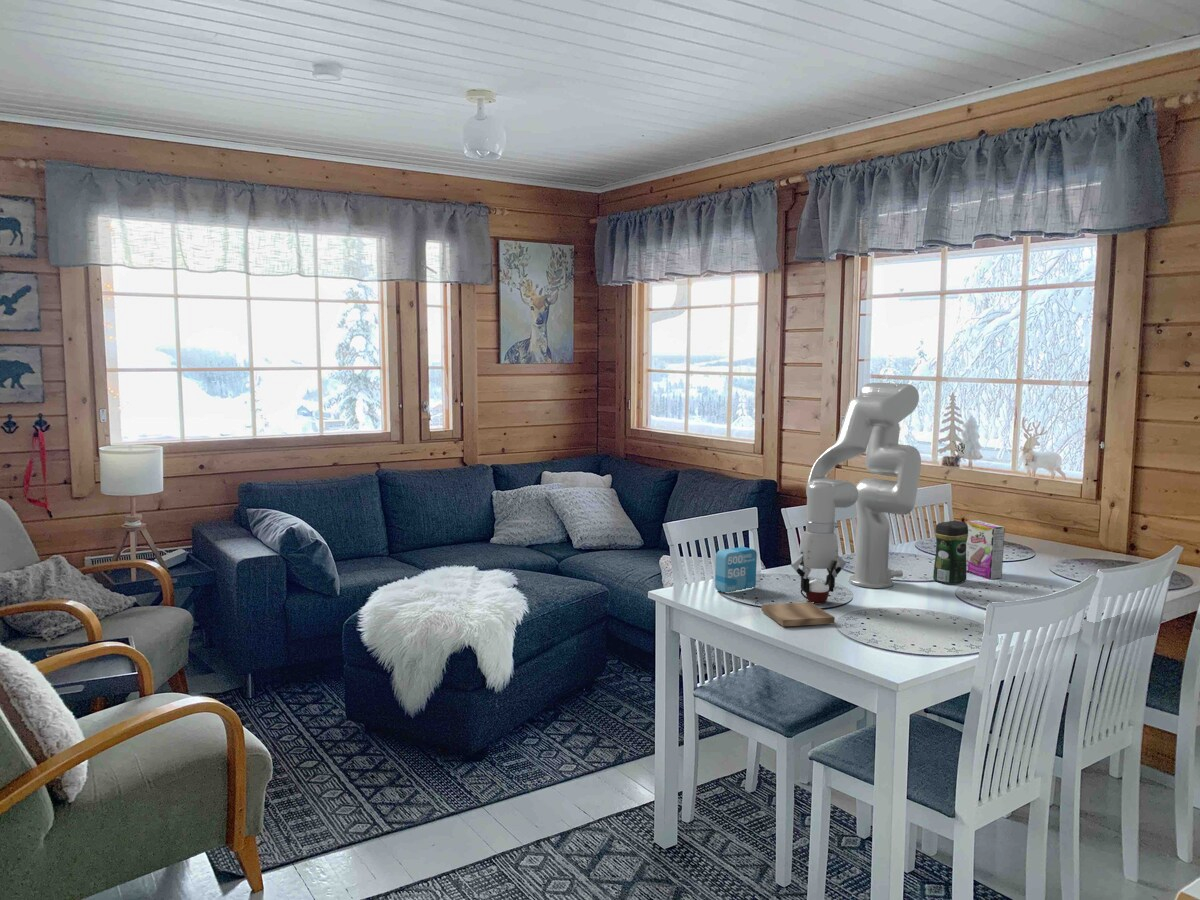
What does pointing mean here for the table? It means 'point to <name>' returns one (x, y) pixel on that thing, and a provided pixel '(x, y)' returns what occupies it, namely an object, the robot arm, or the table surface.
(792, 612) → the stand
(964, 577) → the coffee jar
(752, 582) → the data package
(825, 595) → the cocoa
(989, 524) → the candy bar box
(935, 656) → the table surface
